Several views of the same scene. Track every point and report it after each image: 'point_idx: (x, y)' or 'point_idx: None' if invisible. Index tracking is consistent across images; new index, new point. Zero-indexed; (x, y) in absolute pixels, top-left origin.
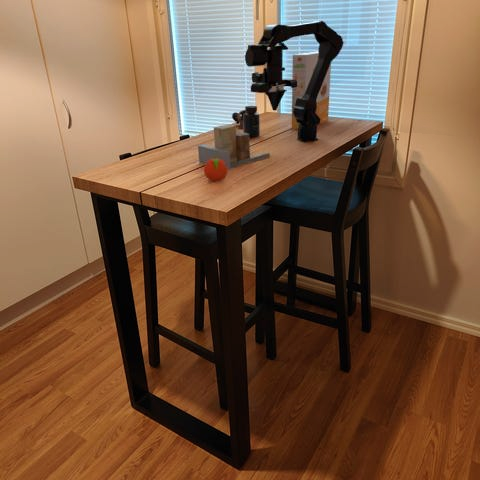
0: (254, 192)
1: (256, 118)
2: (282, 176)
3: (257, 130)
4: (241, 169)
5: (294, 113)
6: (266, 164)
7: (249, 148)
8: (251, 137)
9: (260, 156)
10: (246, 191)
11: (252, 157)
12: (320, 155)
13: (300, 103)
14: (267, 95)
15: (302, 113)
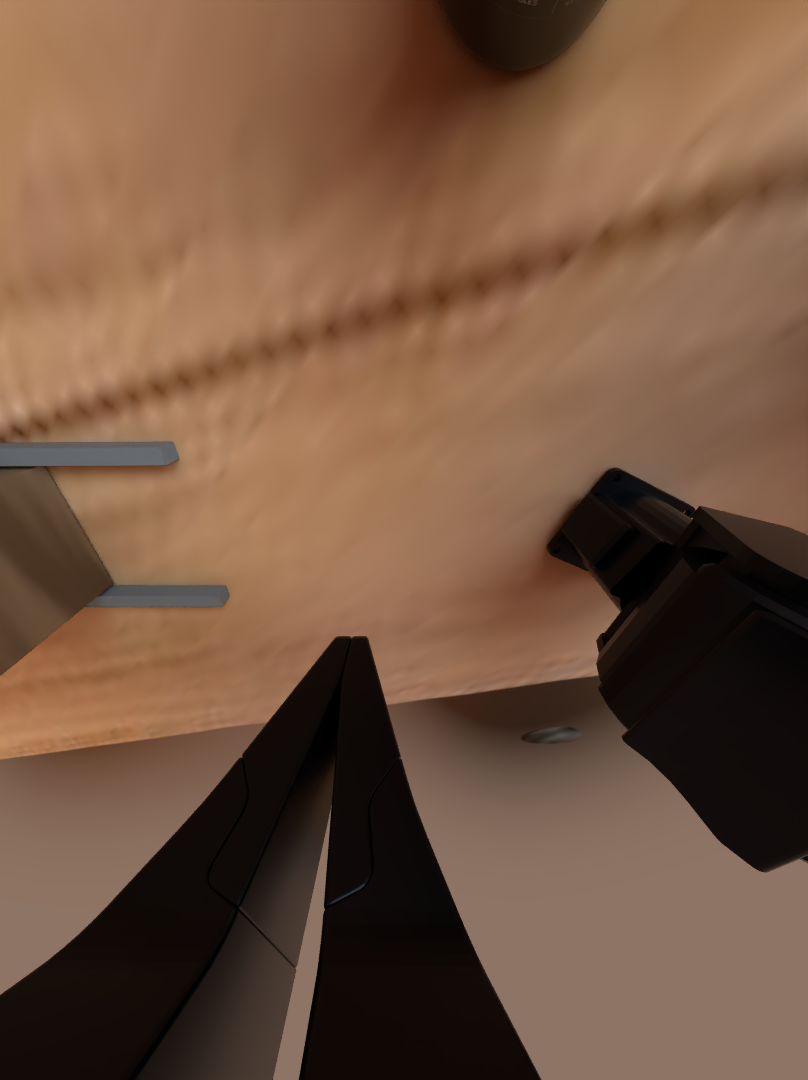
0: (33, 748)
1: None
2: (154, 730)
3: (544, 20)
4: None
5: (683, 590)
6: (161, 648)
7: (62, 624)
8: (454, 30)
9: (162, 604)
10: (13, 737)
11: (113, 601)
12: (395, 697)
13: (764, 752)
14: (66, 955)
15: (612, 700)
